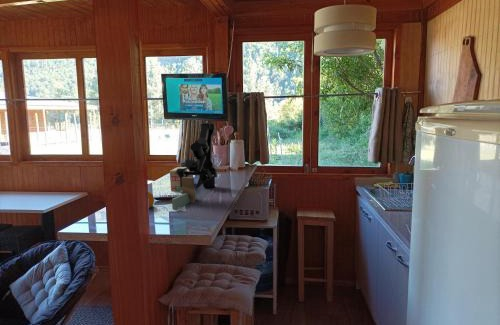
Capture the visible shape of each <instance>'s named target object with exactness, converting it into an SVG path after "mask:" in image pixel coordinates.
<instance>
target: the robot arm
mask: <svg viewBox="0 0 500 325" xmlns="http://www.w3.org/2000/svg"><path fill="white" fill-rule="evenodd" d="M216 131H217V126H216V124H215V123H214V122H202V123H200V130H199V137H198V139H197V140H195V141H194V142H193V143H192V144H190V147H189V148H190V151H191V153H192V156H193V159H185V161H184V167H187V169H188V170H189V171H186V170H185V169H184V168H178V169H177V170H176V173H177V174H178V176H179V177H180V187H182V181H181V178H183V177H187V176H188V175H193V176H198V177H199V178H198V179H197V184H196V186H195V188H196V189H198V188H200V187H201V186H202V187H203V188H204V190H206V189H214V188H217V187H216V181H215V180H216V179H215V178H217V177H218V173H217V169H216V167H215V164H214V162H213V159H212V158H213V137H214V136H215V133H216Z"/></svg>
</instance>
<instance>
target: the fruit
mask: <svg viewBox="0 0 500 325" xmlns="http://www.w3.org/2000/svg"><path fill="white" fill-rule="evenodd" d="M147 191H148V199H149V208H148V209H150V208H151V207H153V205H154V204H155V197H154V195H153V193H152V192H150V191H149V190H147Z"/></svg>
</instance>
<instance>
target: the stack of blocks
mask: <svg viewBox="0 0 500 325" xmlns="http://www.w3.org/2000/svg"><path fill="white" fill-rule="evenodd" d="M178 168H184V169H185V170H186V171H189V170H188V169H187V168H188V167H187V166H177V167H175V168H173V169H171V170H169V179H170V192H182V187H180V177H179V176H178V174H177V173H176V170H177V169H178ZM187 177H191V178H194V175H188V176H187Z"/></svg>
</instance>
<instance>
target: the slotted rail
mask: <svg viewBox="0 0 500 325" xmlns="http://www.w3.org/2000/svg"><path fill="white" fill-rule="evenodd" d="M196 200H197V191H196V189H195V201H196ZM187 204H191V198H190V197H189V196H188V193H184V194H180V195H177V196H176V197H173V198H172V199H171V207H172V210H177V209H180V208H181V207H183V206H185V205H187Z"/></svg>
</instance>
